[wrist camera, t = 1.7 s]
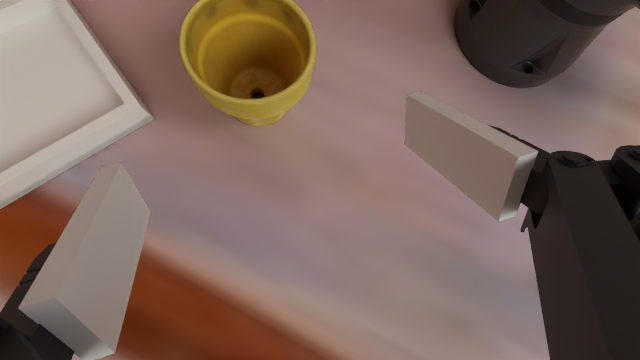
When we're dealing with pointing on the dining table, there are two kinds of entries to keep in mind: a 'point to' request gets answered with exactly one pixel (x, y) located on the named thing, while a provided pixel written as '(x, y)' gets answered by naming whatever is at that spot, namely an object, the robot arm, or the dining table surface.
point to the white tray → (56, 94)
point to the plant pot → (249, 55)
